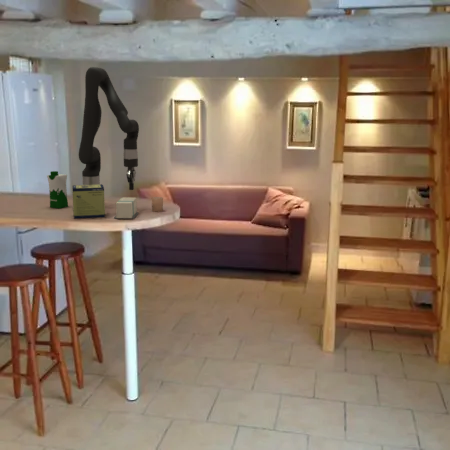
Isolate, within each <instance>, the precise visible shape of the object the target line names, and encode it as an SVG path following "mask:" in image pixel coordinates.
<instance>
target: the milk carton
mask: <svg viewBox="0 0 450 450" xmlns="http://www.w3.org/2000/svg"><path fill="white" fill-rule="evenodd" d="M46 178H47V181H48V189H49V208H51V209H64V208H68V207H69V202H68V194H67V193H68V192H67V191H68V190H67V189H68V188H67V179H68V174H63V173H62V174H61V173H59V171H58V170H56V171H55V170H53V171H50V174H47V175H46Z"/></svg>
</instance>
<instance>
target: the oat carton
mask: <svg viewBox="0 0 450 450" xmlns="http://www.w3.org/2000/svg"><path fill="white" fill-rule="evenodd" d="M137 201H138V200H137V197H121V198H120V199H119V200H118V201H117V202H116V203H115V210H116V211H115V212H116V214H115V216H116V218H132V217H133V216H134V215H135V213H136V212H138V211H137V210H138V202H137Z"/></svg>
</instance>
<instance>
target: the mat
mask: <svg viewBox="0 0 450 450" xmlns="http://www.w3.org/2000/svg"><path fill="white" fill-rule="evenodd" d="M138 215H139V212H138V211H137V212H136V213H135V215H134V216H133V217H132V218H116V215H115V216H114V217H113V220H117V219H120V220H123V219H124V220H129V219H130V220H134V219H135V218H137V216H138Z"/></svg>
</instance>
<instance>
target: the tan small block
mask: <svg viewBox="0 0 450 450" xmlns="http://www.w3.org/2000/svg"><path fill="white" fill-rule="evenodd" d="M151 211H152V212H154V213H161V212H164V197H160V196H155V197H151Z"/></svg>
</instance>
